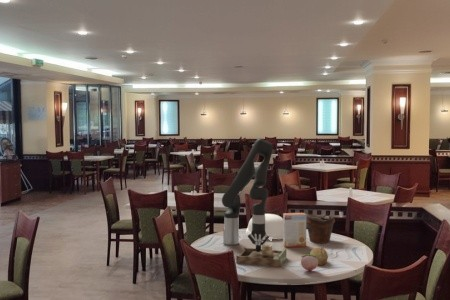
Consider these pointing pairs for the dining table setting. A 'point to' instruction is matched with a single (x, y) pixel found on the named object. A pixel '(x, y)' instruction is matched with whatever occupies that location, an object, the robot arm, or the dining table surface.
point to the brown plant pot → (319, 228)
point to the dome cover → (270, 226)
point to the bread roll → (320, 255)
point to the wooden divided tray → (261, 257)
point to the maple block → (267, 249)
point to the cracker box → (294, 229)
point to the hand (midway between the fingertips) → (258, 251)
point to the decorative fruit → (309, 261)
